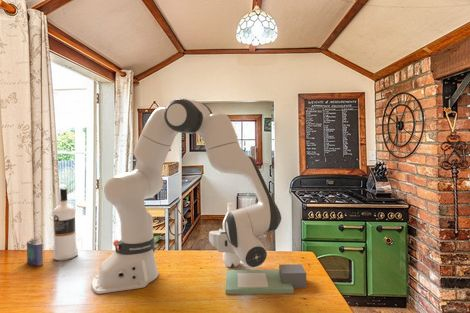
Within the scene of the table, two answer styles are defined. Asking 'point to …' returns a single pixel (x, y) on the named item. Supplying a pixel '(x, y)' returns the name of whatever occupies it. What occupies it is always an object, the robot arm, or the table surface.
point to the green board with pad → (266, 280)
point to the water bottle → (228, 257)
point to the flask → (34, 253)
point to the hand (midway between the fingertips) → (231, 229)
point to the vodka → (64, 229)
